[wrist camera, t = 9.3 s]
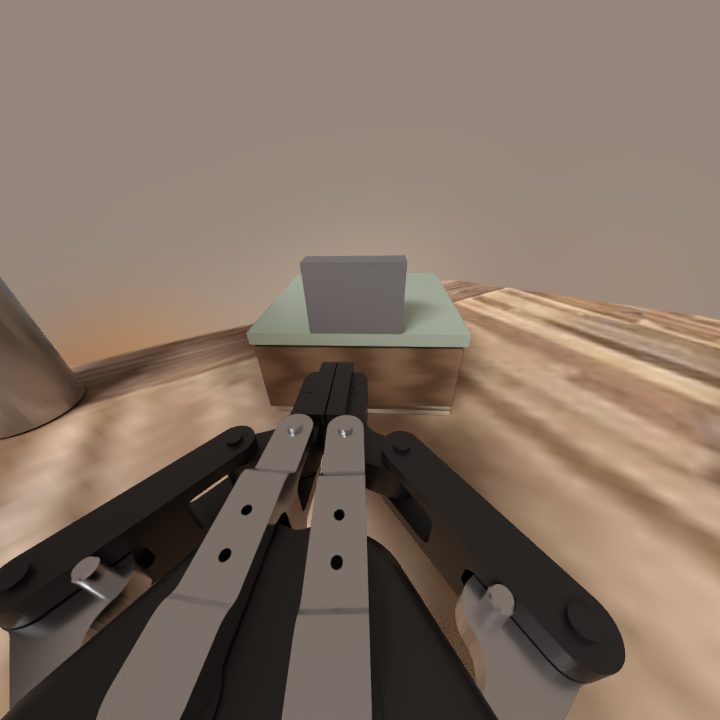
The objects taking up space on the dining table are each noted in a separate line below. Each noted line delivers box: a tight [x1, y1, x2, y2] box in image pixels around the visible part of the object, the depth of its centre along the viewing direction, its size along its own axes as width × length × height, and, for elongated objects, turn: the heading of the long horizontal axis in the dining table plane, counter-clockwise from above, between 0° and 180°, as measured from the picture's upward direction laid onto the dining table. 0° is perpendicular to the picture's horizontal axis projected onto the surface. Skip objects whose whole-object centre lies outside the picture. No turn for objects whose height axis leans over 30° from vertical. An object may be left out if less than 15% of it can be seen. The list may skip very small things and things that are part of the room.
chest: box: [255, 345, 464, 415], centre depth 34 cm, size 19×18×8 cm
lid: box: [246, 255, 472, 347], centre depth 29 cm, size 20×18×7 cm
